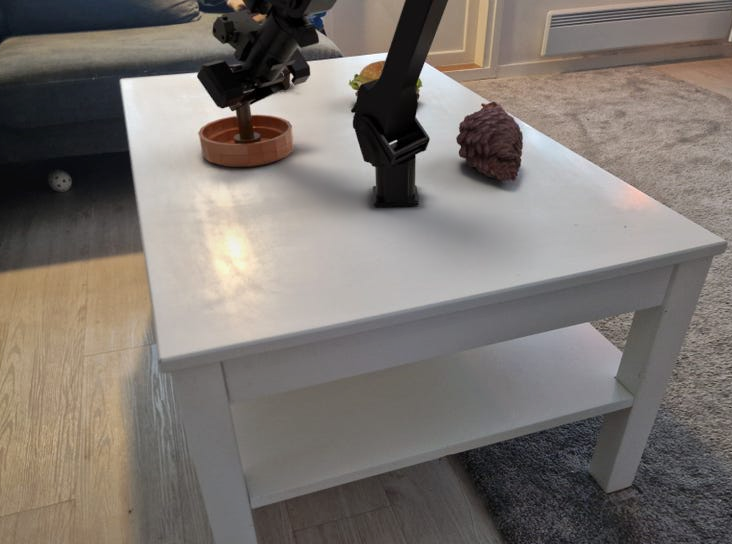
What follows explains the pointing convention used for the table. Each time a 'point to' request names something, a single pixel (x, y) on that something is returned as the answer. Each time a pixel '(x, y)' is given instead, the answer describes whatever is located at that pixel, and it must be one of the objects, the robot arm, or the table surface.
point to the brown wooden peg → (245, 125)
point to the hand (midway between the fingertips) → (237, 106)
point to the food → (373, 76)
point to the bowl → (270, 149)
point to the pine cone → (491, 142)
